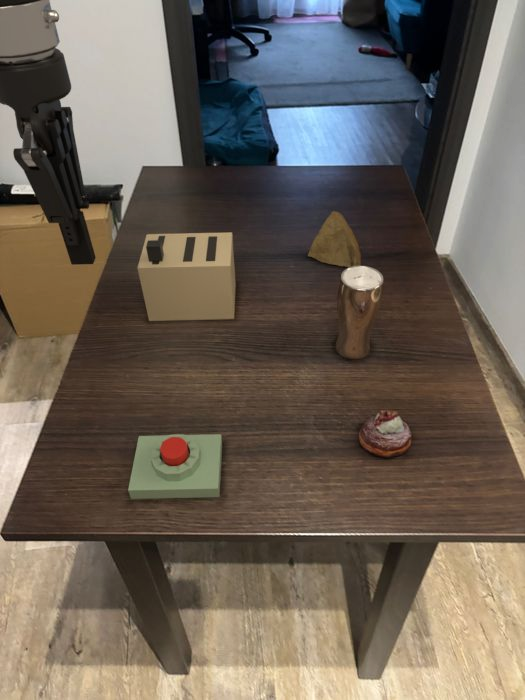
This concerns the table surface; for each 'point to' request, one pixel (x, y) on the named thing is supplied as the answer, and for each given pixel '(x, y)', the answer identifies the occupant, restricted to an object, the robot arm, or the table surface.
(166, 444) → the red button
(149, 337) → the table surface
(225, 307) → the toaster
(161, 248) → the button
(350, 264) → the rock
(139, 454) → the control block
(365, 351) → the beer glass
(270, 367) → the table surface
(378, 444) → the pastry
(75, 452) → the table surface
